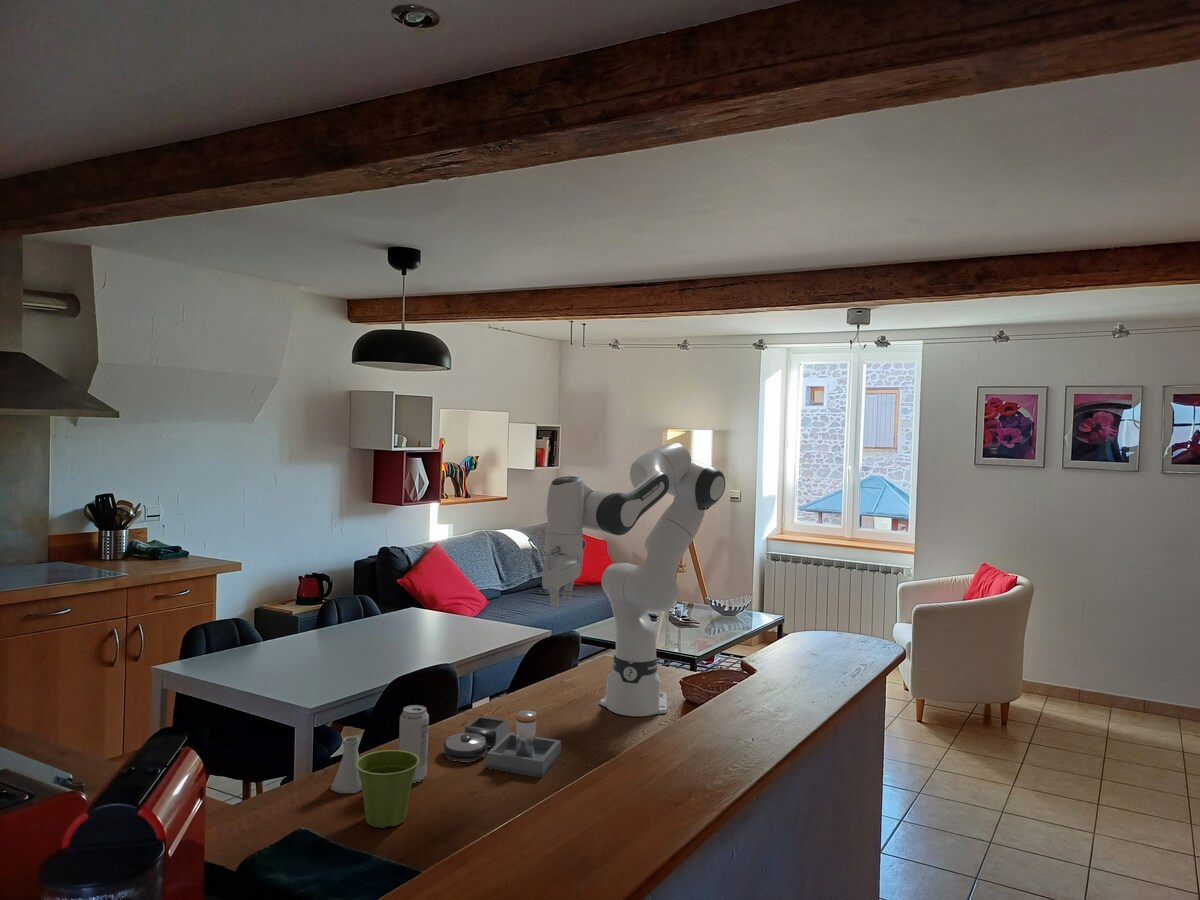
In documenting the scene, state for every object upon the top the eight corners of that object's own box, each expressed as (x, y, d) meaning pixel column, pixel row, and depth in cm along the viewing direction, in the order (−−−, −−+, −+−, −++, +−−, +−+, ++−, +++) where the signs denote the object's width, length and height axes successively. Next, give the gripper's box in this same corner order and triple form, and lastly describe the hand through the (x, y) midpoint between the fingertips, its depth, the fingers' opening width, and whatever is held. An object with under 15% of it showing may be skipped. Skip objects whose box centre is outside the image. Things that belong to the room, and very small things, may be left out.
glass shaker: (519, 752, 189) (520, 709, 189) (537, 755, 188) (539, 711, 188) (511, 759, 185) (513, 715, 185) (530, 762, 184) (532, 718, 183)
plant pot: (422, 806, 163) (424, 749, 162) (410, 836, 151) (413, 775, 150) (361, 804, 162) (364, 748, 162) (345, 834, 150) (347, 773, 150)
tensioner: (470, 730, 204) (470, 714, 204) (508, 736, 201) (508, 719, 201) (435, 759, 185) (436, 741, 185) (476, 766, 183) (477, 747, 183)
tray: (507, 747, 194) (508, 732, 194) (560, 755, 191) (561, 740, 191) (486, 768, 182) (486, 753, 182) (542, 777, 178) (542, 761, 178)
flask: (356, 797, 165) (358, 747, 165) (323, 792, 167) (325, 743, 167) (373, 782, 173) (375, 734, 172) (341, 777, 174) (343, 730, 174)
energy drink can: (401, 772, 178) (404, 703, 178) (429, 773, 178) (432, 704, 177) (393, 784, 172) (396, 712, 172) (422, 785, 172) (425, 714, 171)
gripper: (563, 551, 186) (560, 612, 186) (587, 540, 206) (585, 595, 206) (536, 548, 188) (534, 609, 188) (563, 538, 208) (561, 593, 208)
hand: (561, 602), depth 197 cm, fingers open, 8 cm apart
